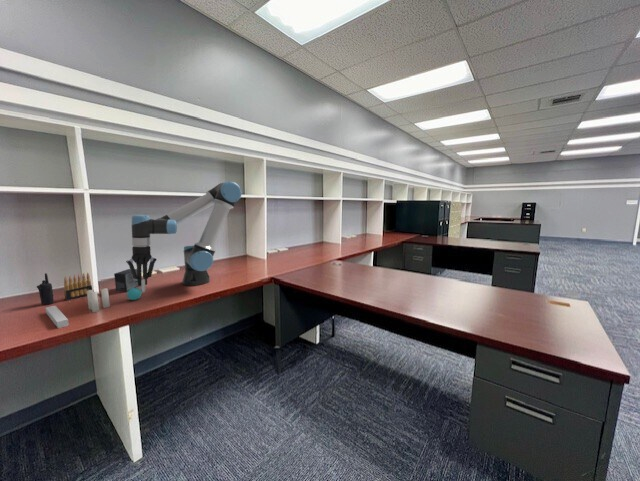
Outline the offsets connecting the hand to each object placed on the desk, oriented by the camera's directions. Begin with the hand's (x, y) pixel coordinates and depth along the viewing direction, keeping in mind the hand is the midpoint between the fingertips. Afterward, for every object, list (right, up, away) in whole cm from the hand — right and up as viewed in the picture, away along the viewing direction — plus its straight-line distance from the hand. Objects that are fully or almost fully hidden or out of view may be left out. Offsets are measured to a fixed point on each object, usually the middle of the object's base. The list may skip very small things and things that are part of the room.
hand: (142, 291), depth 134 cm
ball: (-2, -1, -3) cm, 4 cm away
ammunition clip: (-33, -3, 0) cm, 33 cm away
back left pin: (-9, -5, -17) cm, 20 cm away
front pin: (-9, -5, -12) cm, 16 cm away
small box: (-18, -2, +14) cm, 23 cm away
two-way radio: (-40, -4, -9) cm, 41 cm away
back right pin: (-13, -5, -14) cm, 20 cm away
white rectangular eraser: (-18, -6, -25) cm, 32 cm away
